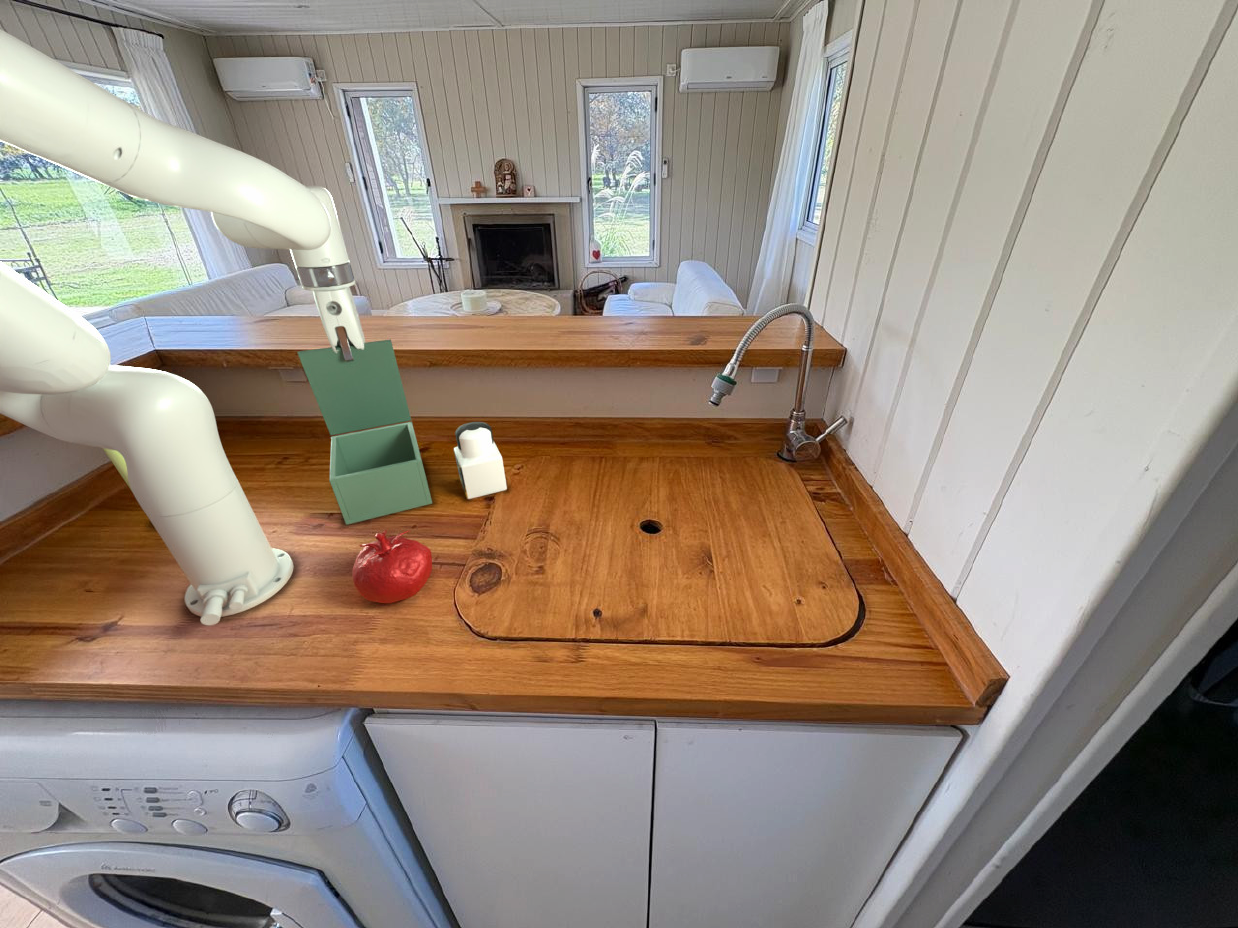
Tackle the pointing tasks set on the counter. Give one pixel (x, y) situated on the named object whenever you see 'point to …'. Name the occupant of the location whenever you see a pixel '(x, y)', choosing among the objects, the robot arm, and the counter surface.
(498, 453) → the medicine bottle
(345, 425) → the lid
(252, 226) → the robot arm
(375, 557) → the pomegranate
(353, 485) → the bin
